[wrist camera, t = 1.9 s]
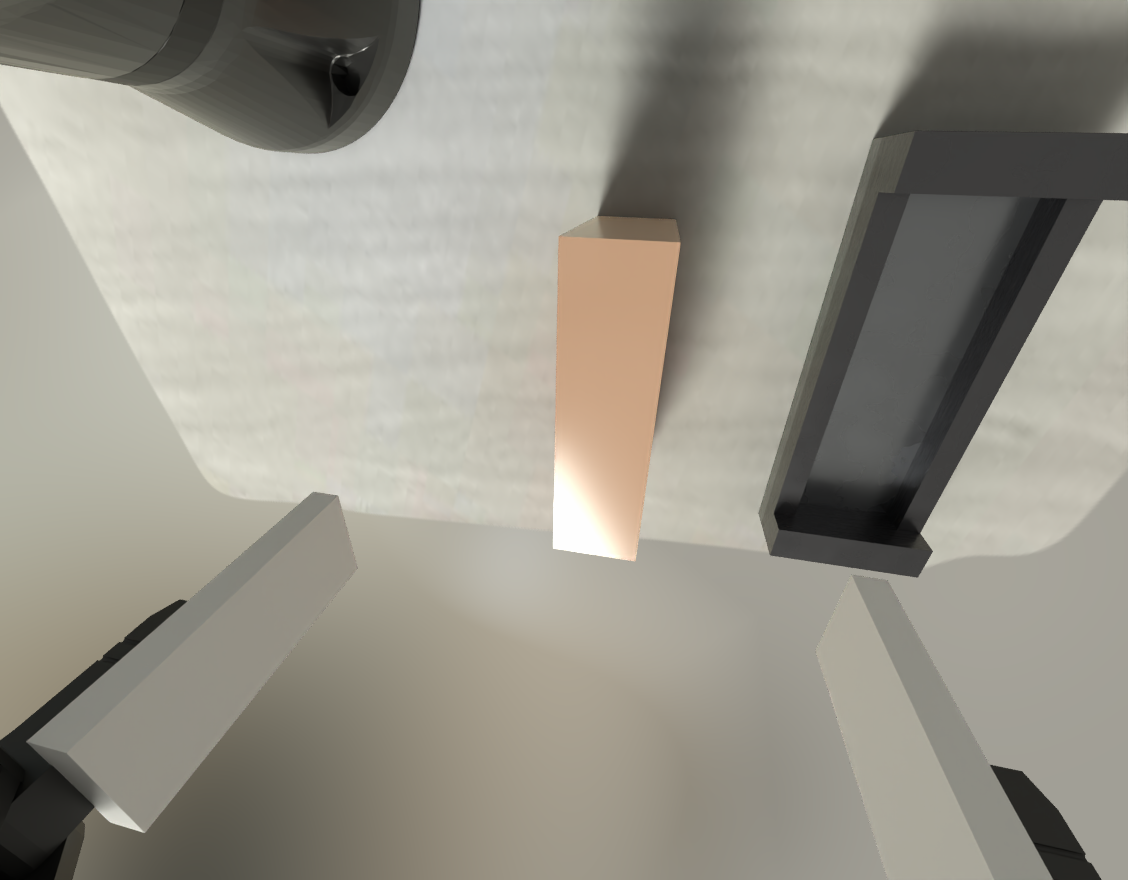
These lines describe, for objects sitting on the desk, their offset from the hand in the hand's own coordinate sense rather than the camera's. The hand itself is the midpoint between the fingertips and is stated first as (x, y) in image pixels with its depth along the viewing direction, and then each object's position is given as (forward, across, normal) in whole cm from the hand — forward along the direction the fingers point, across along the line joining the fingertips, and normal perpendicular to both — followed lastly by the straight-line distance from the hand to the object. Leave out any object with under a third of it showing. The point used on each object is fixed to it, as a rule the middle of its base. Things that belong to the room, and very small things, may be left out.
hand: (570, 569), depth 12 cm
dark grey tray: (+18, +14, 0) cm, 22 cm away
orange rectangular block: (+18, 0, 0) cm, 18 cm away
